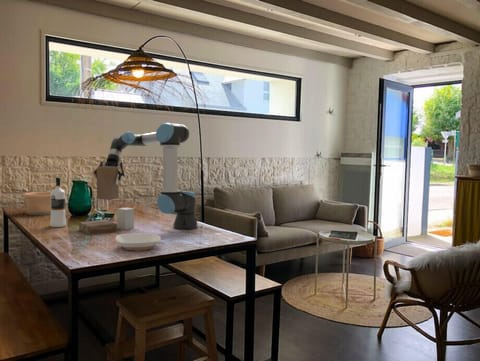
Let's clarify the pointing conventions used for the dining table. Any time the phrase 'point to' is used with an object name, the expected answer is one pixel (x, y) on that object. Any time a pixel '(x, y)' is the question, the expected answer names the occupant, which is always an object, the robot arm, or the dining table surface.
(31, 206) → the pottery
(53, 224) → the vodka
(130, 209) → the white canister
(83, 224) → the plinth
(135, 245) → the bowl
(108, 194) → the block
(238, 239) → the dining table surface
